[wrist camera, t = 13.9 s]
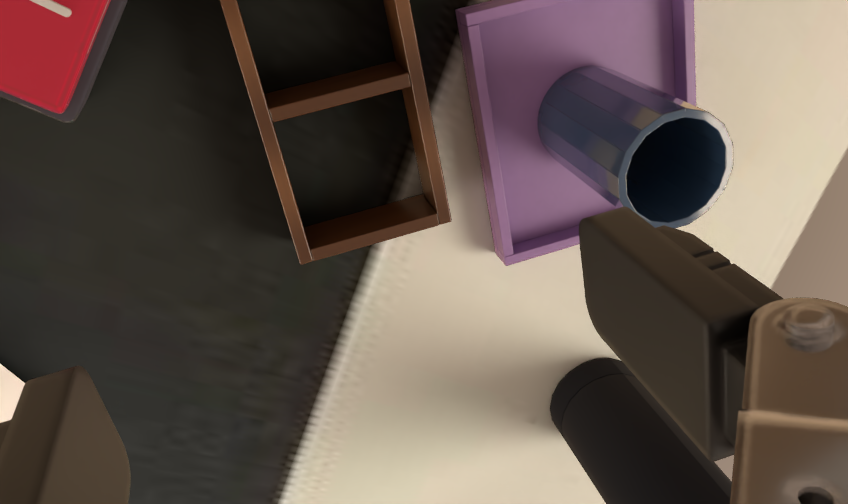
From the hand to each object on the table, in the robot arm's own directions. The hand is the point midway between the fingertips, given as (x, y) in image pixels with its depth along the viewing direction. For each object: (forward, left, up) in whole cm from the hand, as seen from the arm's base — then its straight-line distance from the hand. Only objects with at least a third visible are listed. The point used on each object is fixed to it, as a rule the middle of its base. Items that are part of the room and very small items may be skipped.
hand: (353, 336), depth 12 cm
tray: (+8, +16, -28) cm, 33 cm away
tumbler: (+8, +16, -28) cm, 33 cm away
